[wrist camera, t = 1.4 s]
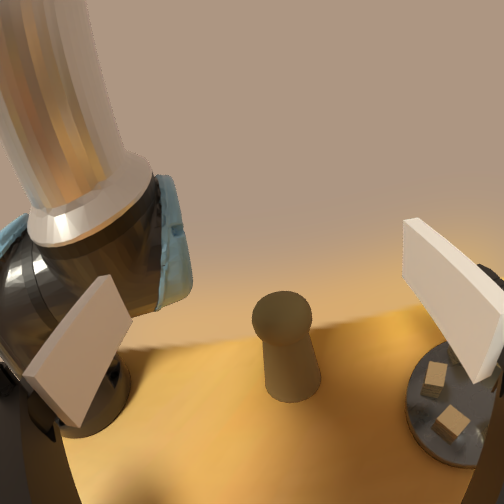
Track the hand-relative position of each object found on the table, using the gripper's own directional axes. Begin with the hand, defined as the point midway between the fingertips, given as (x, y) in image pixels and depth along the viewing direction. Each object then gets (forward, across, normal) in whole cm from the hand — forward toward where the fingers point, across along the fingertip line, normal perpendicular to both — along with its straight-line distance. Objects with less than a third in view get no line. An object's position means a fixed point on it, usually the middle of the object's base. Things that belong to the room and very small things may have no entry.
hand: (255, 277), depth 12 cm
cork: (+10, 0, -19) cm, 22 cm away
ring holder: (+2, +18, -20) cm, 27 cm away
